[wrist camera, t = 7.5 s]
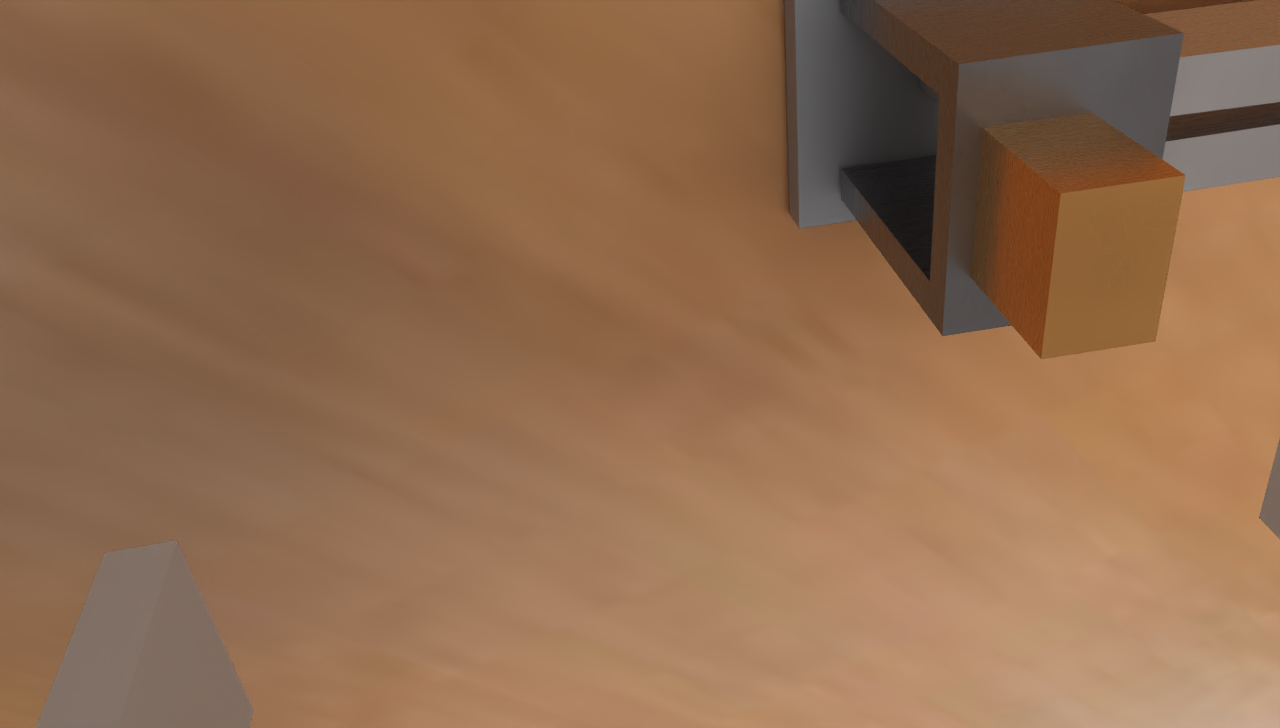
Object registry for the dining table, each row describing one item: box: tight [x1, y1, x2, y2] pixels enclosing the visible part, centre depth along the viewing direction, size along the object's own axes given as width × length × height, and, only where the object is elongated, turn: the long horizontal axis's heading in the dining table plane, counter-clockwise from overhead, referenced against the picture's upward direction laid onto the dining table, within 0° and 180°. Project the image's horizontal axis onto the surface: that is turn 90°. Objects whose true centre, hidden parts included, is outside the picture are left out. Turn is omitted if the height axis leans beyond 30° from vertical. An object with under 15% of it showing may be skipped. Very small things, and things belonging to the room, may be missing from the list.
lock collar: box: [841, 0, 1186, 359], centre depth 22 cm, size 4×5×10 cm
